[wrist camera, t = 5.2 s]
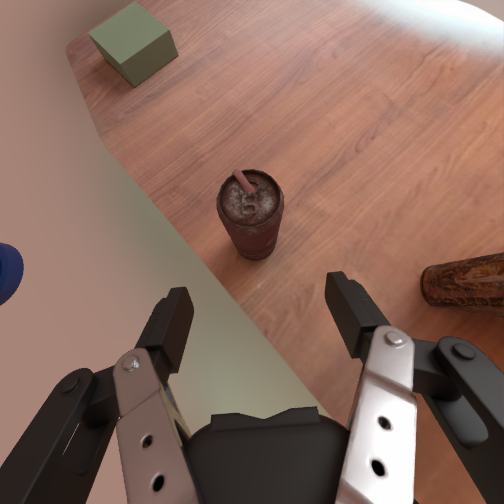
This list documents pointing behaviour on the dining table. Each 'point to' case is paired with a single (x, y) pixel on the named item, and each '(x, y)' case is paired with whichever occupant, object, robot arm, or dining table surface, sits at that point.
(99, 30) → the plate
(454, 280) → the book
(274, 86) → the dining table surface
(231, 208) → the can
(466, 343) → the robot arm
